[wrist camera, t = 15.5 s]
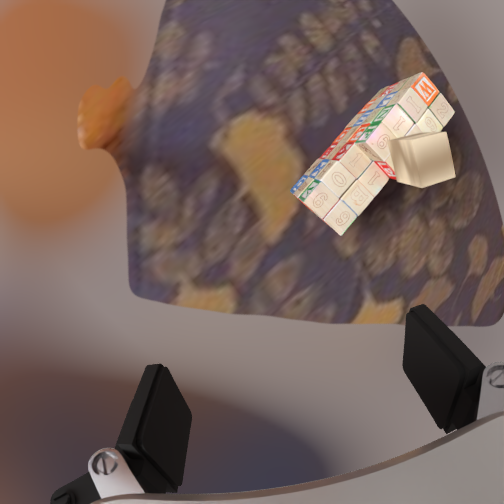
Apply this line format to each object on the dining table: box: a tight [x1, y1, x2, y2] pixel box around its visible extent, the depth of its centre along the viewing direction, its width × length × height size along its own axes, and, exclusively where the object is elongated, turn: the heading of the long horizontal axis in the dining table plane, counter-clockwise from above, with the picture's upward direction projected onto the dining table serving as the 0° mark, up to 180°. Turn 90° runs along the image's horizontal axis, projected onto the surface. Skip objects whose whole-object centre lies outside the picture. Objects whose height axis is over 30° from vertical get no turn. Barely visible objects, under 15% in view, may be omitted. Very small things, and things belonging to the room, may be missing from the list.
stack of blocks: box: [290, 72, 455, 235], centre depth 33 cm, size 21×6×12 cm, turn 140°
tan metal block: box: [387, 132, 455, 188], centre depth 25 cm, size 4×4×5 cm
